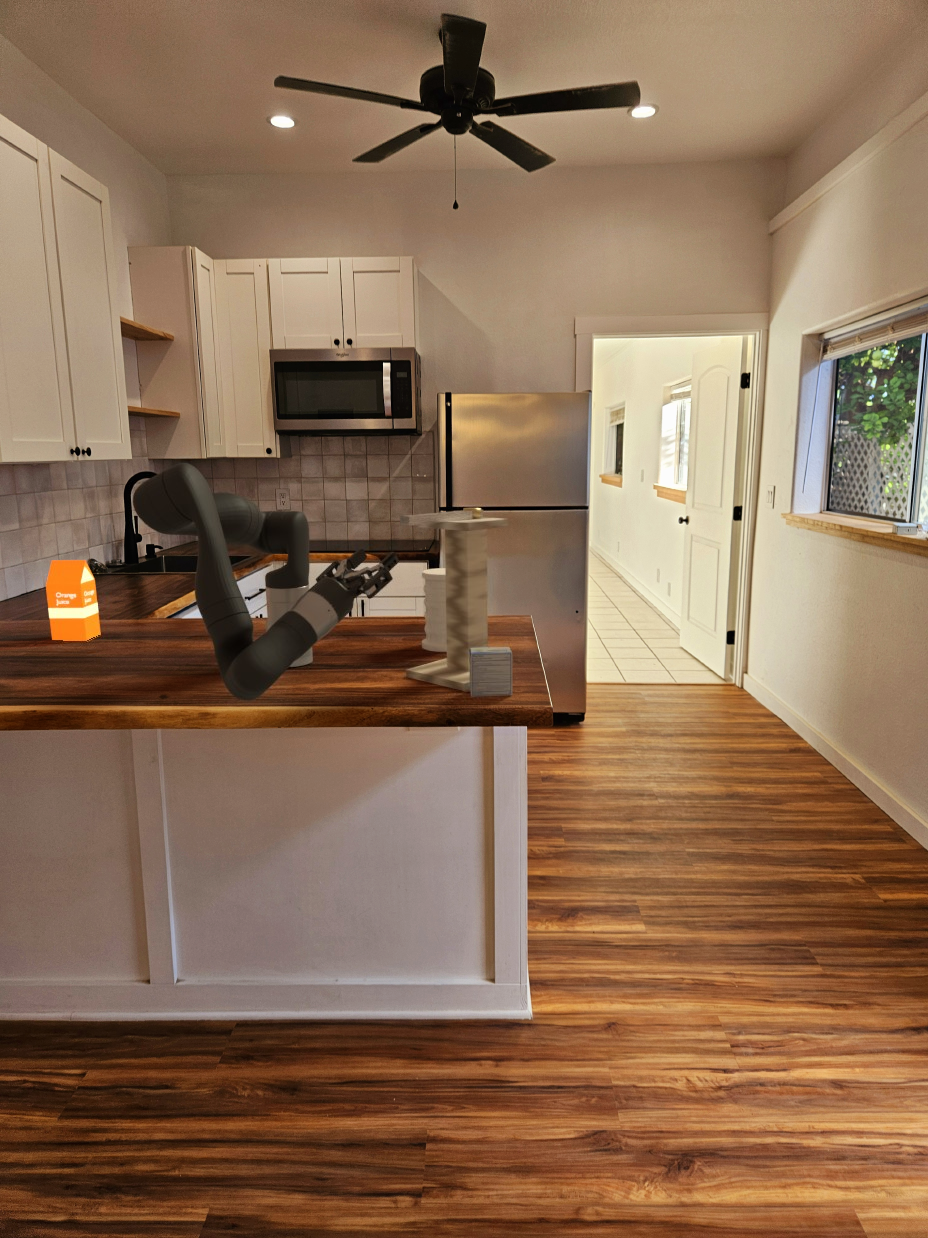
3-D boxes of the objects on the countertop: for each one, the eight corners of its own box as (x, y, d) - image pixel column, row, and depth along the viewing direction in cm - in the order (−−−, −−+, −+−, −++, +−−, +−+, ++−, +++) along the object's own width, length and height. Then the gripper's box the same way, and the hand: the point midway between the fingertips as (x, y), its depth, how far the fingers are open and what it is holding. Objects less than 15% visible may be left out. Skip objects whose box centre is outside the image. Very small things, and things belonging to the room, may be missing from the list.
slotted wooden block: (398, 524, 149) (397, 513, 149) (472, 517, 164) (472, 507, 164) (411, 525, 147) (411, 514, 146) (485, 517, 162) (485, 508, 162)
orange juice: (86, 641, 200) (78, 561, 196) (51, 641, 200) (42, 562, 196) (101, 634, 207) (93, 557, 203) (67, 635, 208) (58, 558, 204)
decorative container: (438, 638, 199) (437, 566, 195) (479, 643, 193) (478, 569, 189) (412, 648, 189) (410, 572, 185) (454, 654, 183) (453, 576, 179)
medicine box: (510, 689, 155) (510, 646, 153) (512, 696, 151) (512, 651, 149) (469, 690, 155) (468, 647, 153) (470, 697, 150) (470, 652, 148)
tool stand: (406, 676, 165) (401, 520, 158) (455, 662, 176) (453, 515, 169) (464, 691, 154) (462, 524, 148) (512, 674, 165) (512, 518, 159)
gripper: (337, 597, 129) (398, 539, 137) (284, 588, 138) (345, 534, 147) (356, 632, 133) (415, 574, 142) (303, 621, 142) (362, 567, 151)
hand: (379, 554), depth 144 cm, fingers open, 8 cm apart
